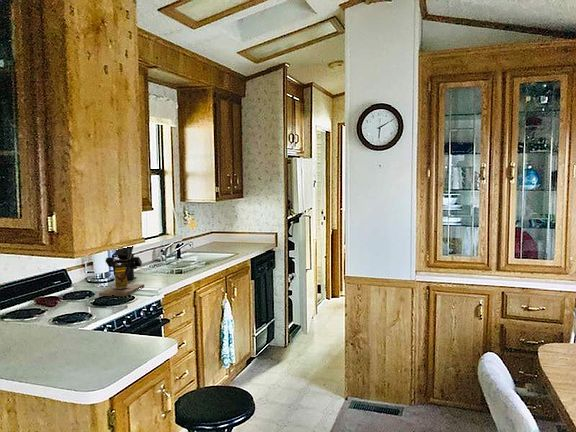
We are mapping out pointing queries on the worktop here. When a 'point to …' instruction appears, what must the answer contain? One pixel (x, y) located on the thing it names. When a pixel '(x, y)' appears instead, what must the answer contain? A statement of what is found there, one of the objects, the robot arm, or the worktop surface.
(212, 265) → the worktop surface
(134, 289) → the walnut board
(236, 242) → the worktop surface
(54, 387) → the worktop surface
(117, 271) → the yellow black cylinder
